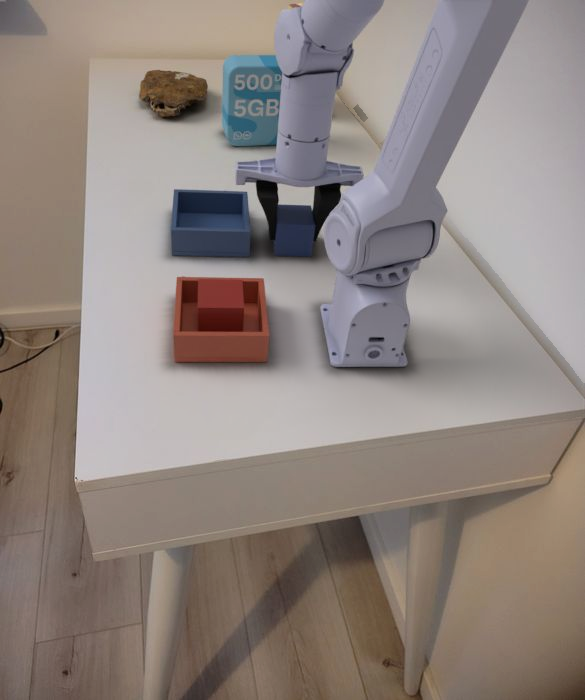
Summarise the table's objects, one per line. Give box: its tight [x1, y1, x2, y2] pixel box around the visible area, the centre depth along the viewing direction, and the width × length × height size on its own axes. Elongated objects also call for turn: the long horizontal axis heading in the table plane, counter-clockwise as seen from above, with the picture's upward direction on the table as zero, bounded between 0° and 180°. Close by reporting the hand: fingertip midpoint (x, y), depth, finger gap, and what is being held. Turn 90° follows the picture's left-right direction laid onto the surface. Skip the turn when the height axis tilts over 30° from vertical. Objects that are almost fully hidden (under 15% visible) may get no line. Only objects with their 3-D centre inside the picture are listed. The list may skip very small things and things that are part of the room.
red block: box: [198, 279, 244, 332], centre depth 65 cm, size 4×4×4 cm
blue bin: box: [170, 188, 252, 258], centre depth 79 cm, size 9×9×4 cm
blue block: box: [272, 203, 315, 257], centre depth 78 cm, size 4×4×4 cm
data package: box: [221, 54, 282, 147], centre depth 96 cm, size 12×4×12 cm, turn 105°
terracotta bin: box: [172, 276, 270, 363], centre depth 66 cm, size 9×9×4 cm
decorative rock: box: [138, 69, 209, 118], centre depth 106 cm, size 11×4×15 cm
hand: (292, 236), depth 79 cm, fingers closed on blue block, 4 cm apart
